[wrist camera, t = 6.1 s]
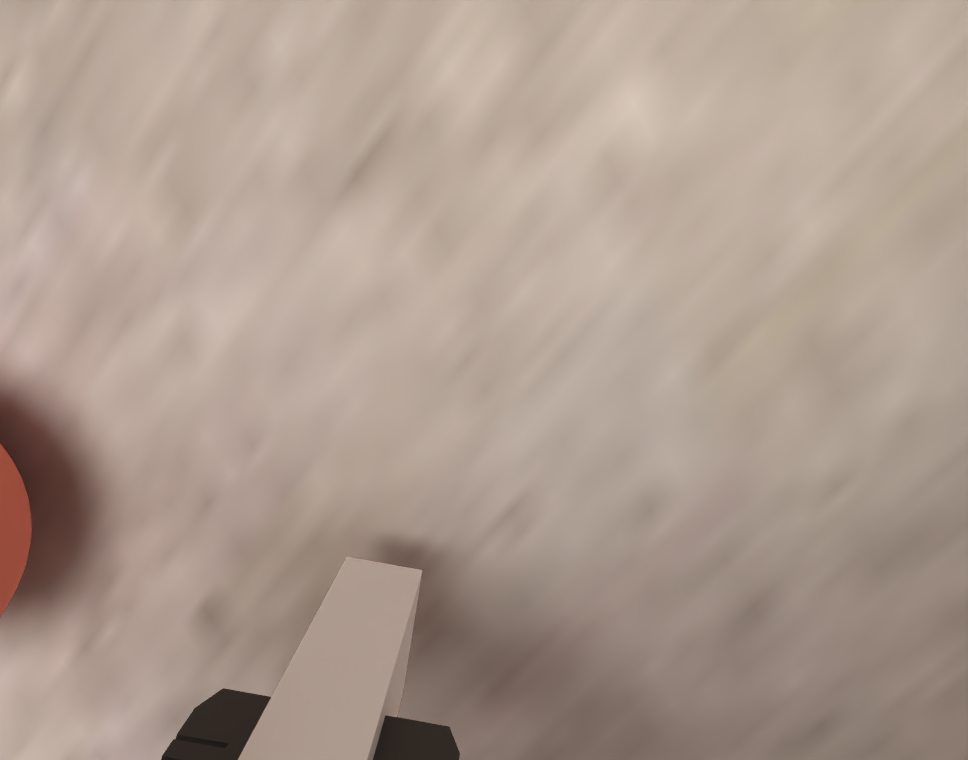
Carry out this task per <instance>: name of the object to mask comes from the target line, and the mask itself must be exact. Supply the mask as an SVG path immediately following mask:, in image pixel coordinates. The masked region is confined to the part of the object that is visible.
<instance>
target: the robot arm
mask: <svg viewBox="0 0 968 760" xmlns="http://www.w3.org/2000/svg"><path fill="white" fill-rule="evenodd" d="M422 571H423V570H420V569H414V568H408V567H403V566H397V565H391V564H386V563H380V562H374V561H369V560H363V559H357V558H352V557H346V559H345V561H344V562H343V564H342V566H341V568H340V570H339V572H338V574H337V576H336V577H335V579H334V581H333V583H332V585H331V587H330V589H329V590H328V592H327V594H326V596H325V598H324V600H323V602H322V604H321V605H320V607H319V609H318V611H317V613H316V615H315V617H314V618H313V620H312V622H311V624H310V626H309V628H308V630H307V632H306V633H305V635H304V637H303V639H302V641H301V643H300V645H299V646H298V648H297V650H296V652H295V654H294V656H293V658H292V660H291V661H290V663H289V665H288V667H287V669H286V671H285V673H284V674H283V676H282V678H281V680H280V682H279V684H278V686H277V687H276V689H275V691H274V693H273V695H272V697H268V696H262V695H257V694H251V693H245V692H240V691H234V690H229V689H222V690H220V691H219V692H217V693H216V694H215V695H213V696H212V697H210V698H209V699H207V700H206V701H204V702H203V703H202V704H200V705H199V706H197V707H196V708H195V709H194V710H193V712H192V713H191V715H190V716H189V718H188V719H187V720H186V722H185V723H184V725H183V726H182V728H181V729H180V731H179V732H178V734H177V737H176V739H173V741H172V742H171V744H170V745H169V747H168V748H167V750H166V751H165V753H164V754H163V756H162V759H161V760H459V755H460V753H459V750H458V748H457V745H456V743H455V740H454V738H453V735H452V733H451V730H450V727H448V726H442V725H437V724H431V723H426V722H420V721H414V720H409V719H403V718H398V717H397V715H398V711H399V707H400V703H401V699H402V696H403V691H404V685H405V678H406V672H407V666H408V659H409V653H410V647H411V640H412V634H413V628H414V621H415V615H416V609H417V602H418V596H419V590H420V583H421V577H422Z"/></svg>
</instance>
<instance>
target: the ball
mask: <svg viewBox="0 0 968 760" xmlns="http://www.w3.org/2000/svg"><path fill="white" fill-rule="evenodd" d="M31 534H32V520H31V512H30V504H29V498H28V495H27V492H26V489H25V486H24V483H23V480H22V477H21V475H20V473H19V471H18V470H17V468H16V466H15V464H14V462H13V460H12V459H11V457H10V456H9V455H8V453H7V452H6V451H5V449H4V448H3V446H2V445H1V444H0V616H1V614H2V613H3V612H4V610H5V609H6V607H7V606H8V604H9V602H10V600H11V598H12V596H13V595H14V593H15V591H16V589H17V587H18V585H19V582H20V580H21V577H22V575H23V572H24V569H25V567H26V563H27V559H28V554H29V549H30V544H31Z"/></svg>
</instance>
